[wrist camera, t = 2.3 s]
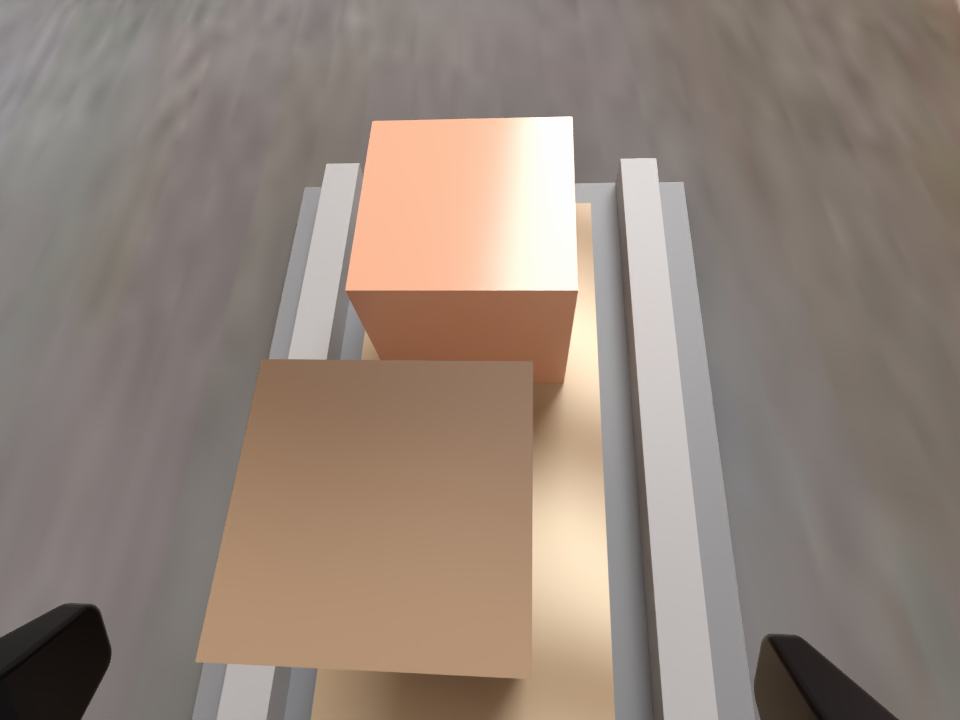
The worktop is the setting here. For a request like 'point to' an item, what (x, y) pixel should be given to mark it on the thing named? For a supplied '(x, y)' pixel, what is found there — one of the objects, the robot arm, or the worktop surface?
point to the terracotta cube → (468, 242)
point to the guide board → (625, 445)
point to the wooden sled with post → (424, 534)
